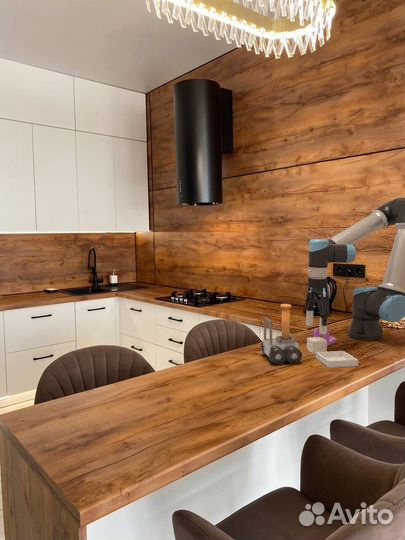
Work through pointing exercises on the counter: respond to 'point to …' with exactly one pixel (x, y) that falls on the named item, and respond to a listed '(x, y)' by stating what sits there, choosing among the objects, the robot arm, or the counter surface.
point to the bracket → (324, 336)
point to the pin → (285, 320)
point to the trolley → (280, 348)
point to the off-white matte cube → (316, 344)
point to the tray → (336, 359)
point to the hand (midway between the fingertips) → (316, 329)
